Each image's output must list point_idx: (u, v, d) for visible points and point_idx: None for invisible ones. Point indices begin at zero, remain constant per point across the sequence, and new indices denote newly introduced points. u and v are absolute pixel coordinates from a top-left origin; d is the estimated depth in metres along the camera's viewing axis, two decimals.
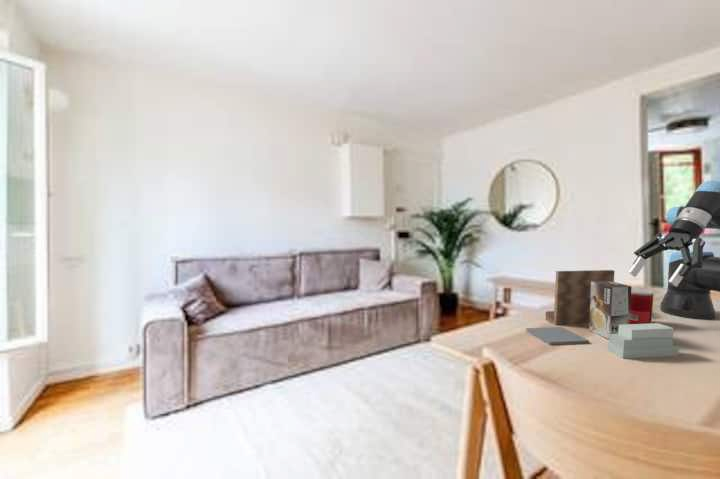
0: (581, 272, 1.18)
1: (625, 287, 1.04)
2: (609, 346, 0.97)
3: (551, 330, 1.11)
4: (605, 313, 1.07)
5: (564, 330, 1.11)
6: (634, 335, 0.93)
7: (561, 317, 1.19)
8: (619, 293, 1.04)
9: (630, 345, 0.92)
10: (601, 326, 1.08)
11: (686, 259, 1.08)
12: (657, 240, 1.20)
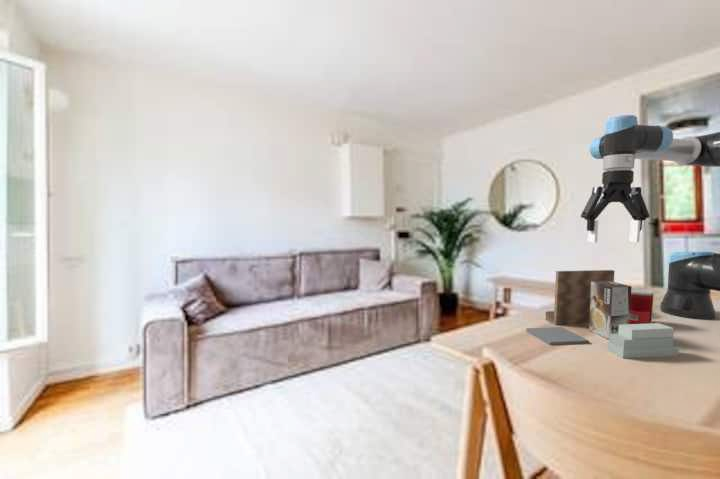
0: (581, 272, 1.18)
1: (625, 287, 1.04)
2: (609, 346, 0.97)
3: (551, 330, 1.11)
4: (605, 313, 1.07)
5: (564, 330, 1.11)
6: (634, 335, 0.93)
7: (561, 317, 1.19)
8: (619, 293, 1.04)
9: (630, 345, 0.92)
10: (601, 326, 1.08)
11: (640, 214, 1.06)
12: None
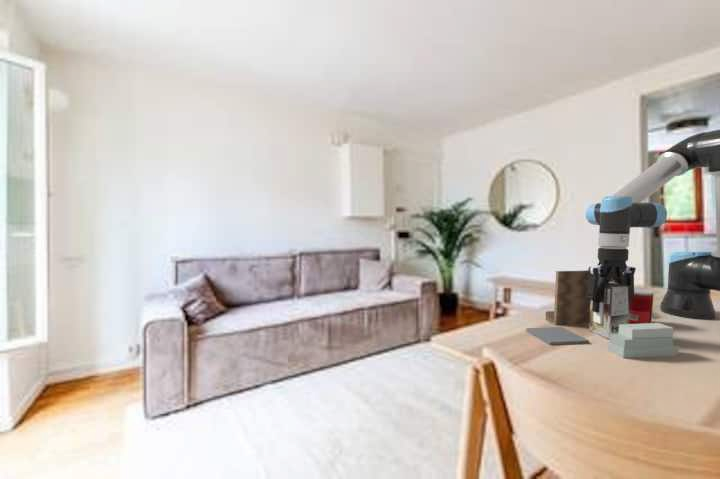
0: (581, 272, 1.18)
1: (625, 287, 1.04)
2: (609, 346, 0.97)
3: (551, 330, 1.11)
4: (605, 313, 1.07)
5: (564, 330, 1.11)
6: (635, 335, 0.93)
7: (561, 317, 1.19)
8: (619, 293, 1.04)
9: (630, 344, 0.93)
10: (601, 326, 1.08)
11: None
12: None
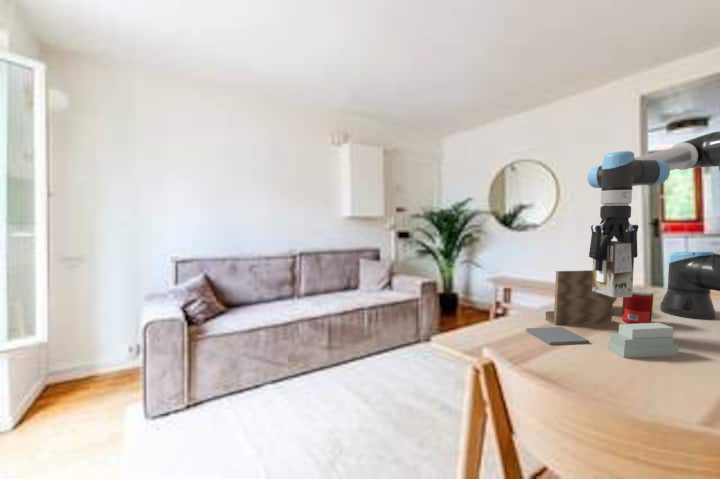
0: (581, 272, 1.18)
1: (628, 244, 1.03)
2: (610, 346, 0.97)
3: (551, 330, 1.11)
4: (608, 271, 1.06)
5: (564, 330, 1.11)
6: (635, 335, 0.93)
7: (561, 317, 1.19)
8: (622, 250, 1.03)
9: (630, 344, 0.93)
10: (604, 285, 1.07)
11: None
12: None
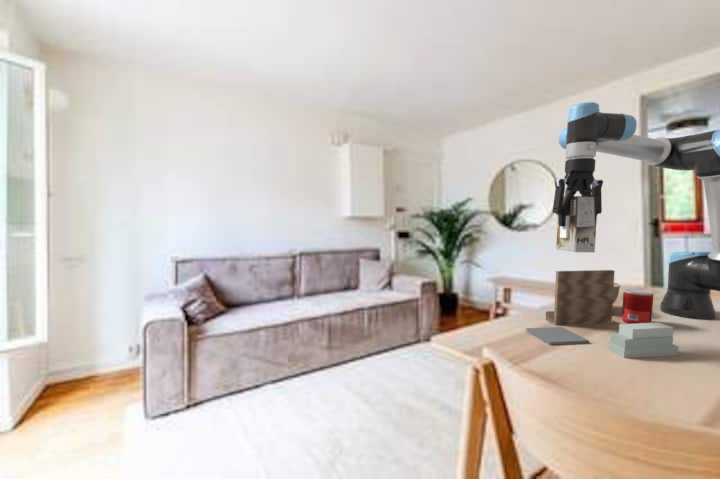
0: (581, 272, 1.18)
1: (591, 197, 1.01)
2: (610, 345, 0.97)
3: (551, 330, 1.11)
4: (571, 226, 1.03)
5: (564, 330, 1.11)
6: (635, 335, 0.93)
7: (561, 317, 1.19)
8: (585, 203, 1.01)
9: (631, 344, 0.93)
10: (567, 241, 1.05)
11: None
12: None
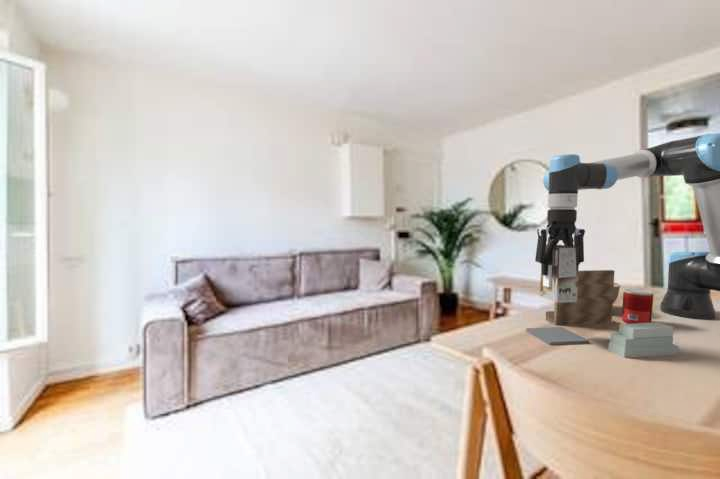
0: (581, 272, 1.18)
1: (573, 248, 1.02)
2: (610, 345, 0.97)
3: (551, 330, 1.11)
4: (553, 276, 1.04)
5: (564, 330, 1.11)
6: (635, 334, 0.93)
7: (561, 317, 1.19)
8: (566, 254, 1.02)
9: (631, 344, 0.93)
10: (550, 290, 1.06)
11: None
12: None
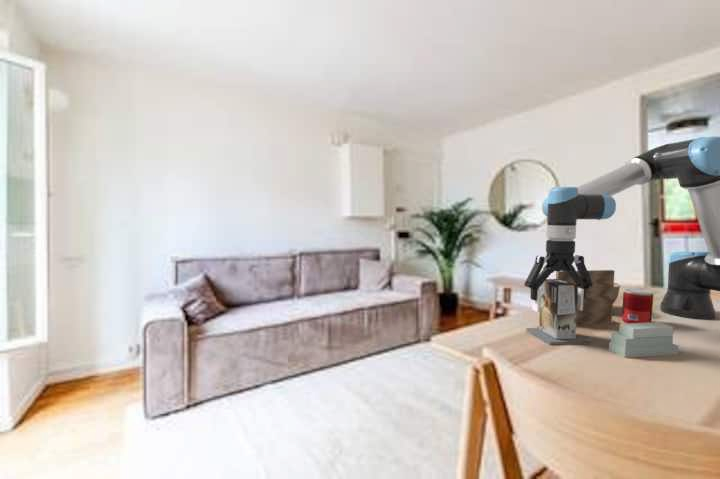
0: None
1: (571, 285, 1.03)
2: (610, 345, 0.97)
3: None
4: (552, 312, 1.05)
5: None
6: (636, 334, 0.94)
7: None
8: (565, 292, 1.03)
9: (631, 344, 0.93)
10: (549, 325, 1.07)
11: (583, 283, 1.06)
12: None
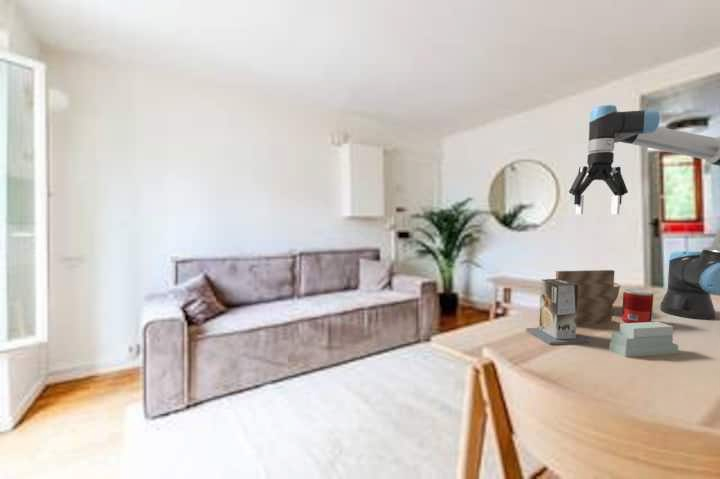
0: (581, 272, 1.18)
1: (571, 285, 1.03)
2: (611, 345, 0.97)
3: None
4: (552, 312, 1.05)
5: None
6: (636, 334, 0.94)
7: None
8: (565, 292, 1.03)
9: (632, 343, 0.93)
10: (549, 325, 1.07)
11: (619, 190, 1.24)
12: None
